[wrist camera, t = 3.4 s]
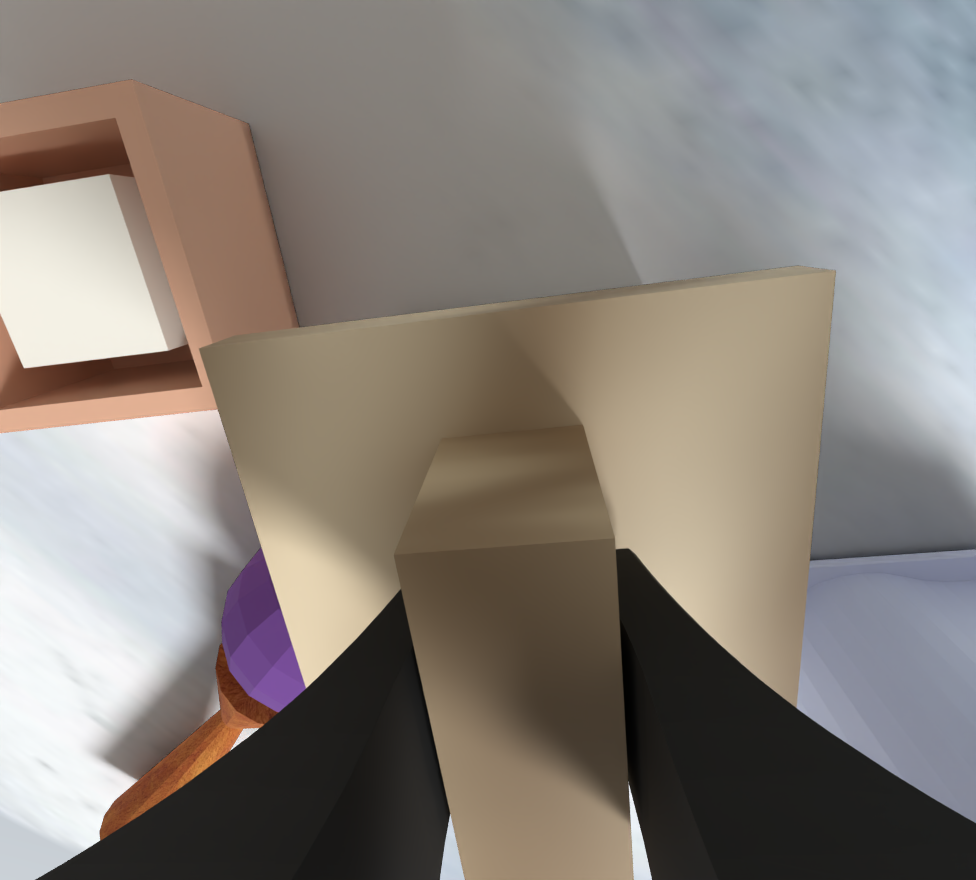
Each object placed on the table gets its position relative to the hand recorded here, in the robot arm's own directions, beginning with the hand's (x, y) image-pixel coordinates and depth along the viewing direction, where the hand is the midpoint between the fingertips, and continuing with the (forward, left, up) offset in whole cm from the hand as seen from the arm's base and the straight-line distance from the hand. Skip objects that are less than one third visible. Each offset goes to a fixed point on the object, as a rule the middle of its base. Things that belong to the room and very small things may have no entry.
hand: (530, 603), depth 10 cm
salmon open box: (+11, -7, -9) cm, 15 cm away
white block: (+11, -7, -9) cm, 15 cm away
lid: (0, 0, -2) cm, 2 cm away
